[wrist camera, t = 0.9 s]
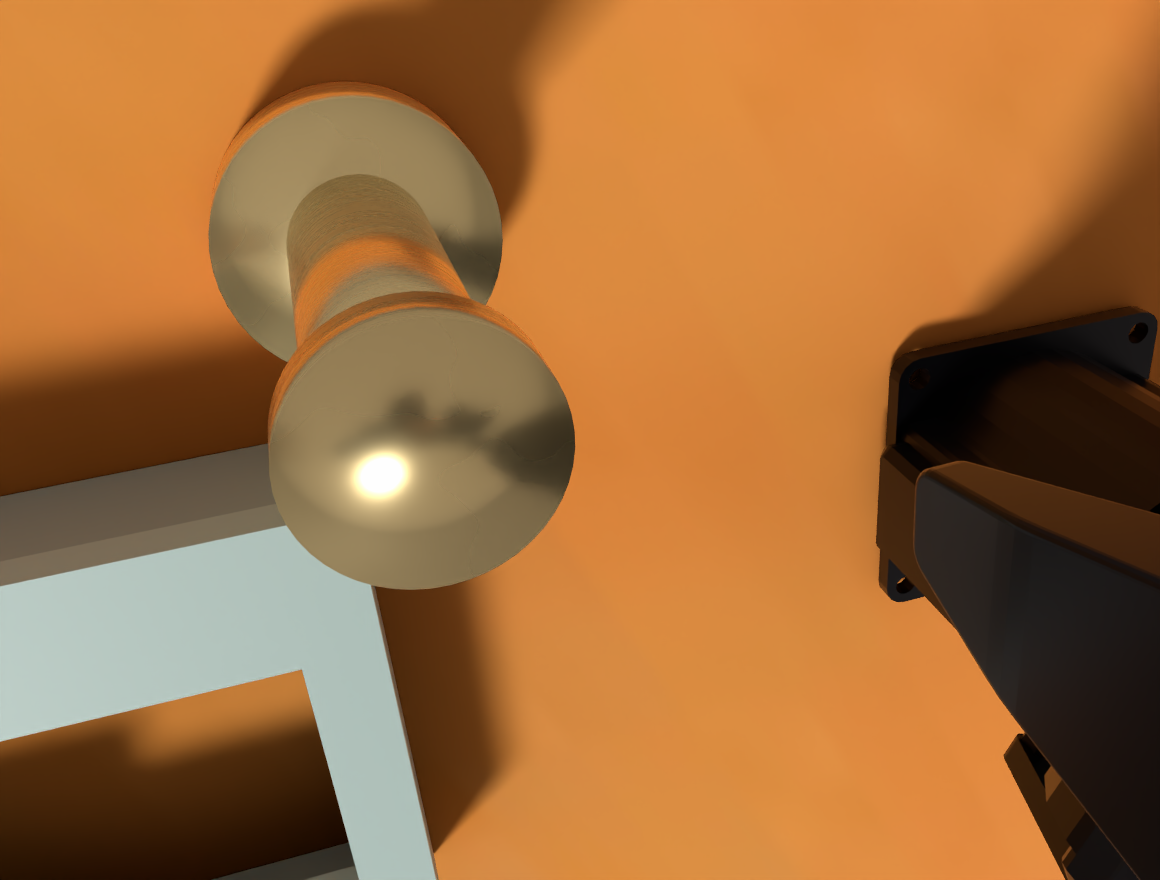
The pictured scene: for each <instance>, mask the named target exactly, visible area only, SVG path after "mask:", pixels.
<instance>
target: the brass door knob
mask: <svg viewBox="0 0 1160 880" xmlns="http://www.w3.org/2000/svg"><path fill="white" fill-rule="evenodd" d="M502 242H503V240H502V223H501V218H500V213H499V208H498V204H497V201H496V198H495V195H494V192H493V189H492V187H491V184H490V182H489V180H488V178H487V176H486V174H485V172H484V171H483V169H482V168H481V166H480V165H479V163H478V162H477V160H476V159H475V157H474V156H473V154H472V153H471V152H470V151H469V149H468V148H467V147H466V146H465V145H464V143H463V142H462V141H461V140H460V139H459V137H458V136H457V135H456V134H455V133H454V132H453V130H452V129H451V128H450V127H449V126H448V125H447V124H446V122H444V121H443V120H442V119H441V118H440V117H439V116H438V115H436V114H435V113H434V112H433V111H432V110H430V109H429V108H427V107H426V106H424V105H423V104H421V103H420V102H418V101H417V100H415V99H413V98H411V97H409V96H407V95H405V94H403V93H401V92H398V91H395V90H392V89H389V88H387V87H384V86H380V85H375V84H370V83H365V82H350V81H340V82H326V83H321V84H316V85H311V86H307V87H304V88H301V89H299V90H296V91H293V92H290V93H288V94H286V95H284V96H282V97H280V98H279V99H277V100H275V101H273V102H272V103H270V104H269V105H267V106H266V107H265V108H263V109H262V110H260V111H259V112H258V113H257V114H256V115H255V116H253V117H252V118H251V119H250V120H249V121H248V122H247V123H246V124H245V125H244V126H243V128H242V129H241V130H240V131H239V133H238V134H237V135H236V137H235V138H234V139H233V141H232V142H231V144H230V146H229V148H228V149H227V151H226V153H225V155H224V157H223V159H222V162H221V164H220V167H219V169H218V172H217V176H216V180H215V184H214V188H213V196H212V205H211V214H210V224H209V252H210V258H211V263H212V268H213V273H214V275H215V278H216V281H217V284H218V287H219V290H220V292H221V294H222V296H223V298H224V300H225V302H226V304H227V306H228V308H229V309H230V310H231V312H232V313H233V315H234V316H235V318H236V319H237V321H238V322H239V323H240V324H241V326H242V327H243V328H244V329H245V330H246V331H247V332H248V333H249V335H250V336H251V337H253V338H254V339H255V340H256V341H257V342H258V343H259V344H261V345H262V346H263V347H264V348H265V349H267V350H268V351H270V352H271V353H273V354H274V355H276V356H277V357H279V358H280V359H282V360H284V361H286V362H288V363H287V364H286V366H285V368H284V369H283V371H282V373H281V375H280V377H279V380H278V382H277V384H276V386H275V389H274V393H273V396H272V400H271V403H270V409H269V417H268V450H269V476H270V482H271V487H272V493H273V496H274V499H275V502H276V505H277V508H278V511H279V512H280V514H281V516H282V518H283V520H284V522H285V524H286V526H287V527H288V529H289V530H290V531H291V533H292V534H293V535H294V537H295V538H296V540H297V541H298V542H299V543H300V544H301V545H302V546H303V547H304V548H305V549H306V550H307V551H308V552H309V553H310V554H311V555H312V556H314V557H315V558H316V559H318V560H319V561H320V562H322V563H323V564H324V565H326V566H327V567H329V568H331V569H333V570H334V571H336V572H338V573H340V574H342V575H344V576H347V577H349V578H351V579H354V580H356V581H359V582H363V583H366V584H370V585H373V586H378V587H384V588H391V589H406V590H417V589H432V588H437V587H443V586H449V585H453V584H456V583H460V582H463V581H467V580H469V579H472V578H474V577H477V576H479V575H482V574H484V573H486V572H488V571H490V570H492V569H494V568H496V567H498V566H499V565H501V564H503V563H504V562H506V561H507V560H509V559H510V558H512V557H513V556H515V555H516V554H517V553H519V552H520V551H521V550H522V549H523V548H524V547H525V546H527V545H528V544H529V543H530V542H531V541H532V540H533V539H534V538H535V537H536V536H537V535H538V534H539V533H540V531H541V530H542V529H543V528H544V527H545V525H546V524H547V523H548V521H549V520H550V518H551V517H552V516H553V514H554V513H555V511H556V509H557V507H558V505H559V504H560V502H561V500H562V498H563V496H564V493H565V491H566V488H567V486H568V483H569V480H570V476H571V472H572V468H573V462H574V453H575V432H574V426H573V420H572V414H571V411H570V408H569V405H568V402H567V399H566V397H565V395H564V393H563V391H562V389H561V387H560V385H559V383H558V381H557V380H556V378H555V376H554V375H553V373H552V372H551V370H550V368H549V367H548V365H547V364H546V362H545V360H544V359H543V357H542V355H541V354H540V352H539V351H538V350H537V348H536V347H535V345H534V344H533V343H532V341H531V340H530V339H529V338H528V337H527V335H526V334H525V333H524V332H523V331H522V330H521V329H520V328H519V327H518V326H517V325H515V324H514V323H513V322H512V321H510V320H509V319H508V318H506V317H505V316H504V315H502V314H500V313H499V312H497V311H495V310H494V309H492V308H490V307H489V306H486V303H487V301H488V299H489V297H490V295H491V293H492V291H493V288H494V285H495V282H496V279H497V277H498V272H499V267H500V262H501V256H502Z"/></svg>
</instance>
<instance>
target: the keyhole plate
mask: <svg viewBox="0 0 1160 880" xmlns="http://www.w3.org/2000/svg"><path fill="white" fill-rule="evenodd" d="M301 669H302V671H303V675H304V679H305V682H306V686H307V690H308V693H309V697H310V701H311V704H312V708H313V712H314V715H315V719H316V723H317V727H318V730H319V734H320V738H321V741H322V745H323V749H324V752H325V756H326V760H327V763H328V767H329V771H330V774H331V778H332V782H333V785H334V789H335V793H336V796H337V800H338V804H339V808H340V811H341V815H342V819H343V822H344V826H345V830H346V833H347V837H348V841H349V843H345V844H341V845H338V846H334V847H330V848H327V849H323V850H319V851H316V852H312V853H308V854H305V855H301V856H297V857H293V858H290V859H286V860H282V861H279V862H275V863H271V864H268V865H264V866H260V867H257V868H253V869H249V870H246V871H242V872H238V873H235V874H231V875H227V876H224V877H220V878H216V879H213V880H439V879H438V874H437V869H436V863H435V858H434V853H433V849H432V844H431V840H430V835H429V831H428V826H427V821H426V817H425V812H424V808H423V803H422V799H421V794H420V790H419V785H418V781H417V776H416V771H415V767H414V762H413V758H412V753H411V749H410V744H409V740H408V735H407V731H406V726H405V721H404V717H403V712H402V708H401V703H400V699H399V694H398V690H397V685H396V680H395V676H394V671H393V667H392V662H391V658H390V653H389V649H388V644H387V640H386V635H385V630H384V626H383V621H382V617H381V612H380V608H379V603H378V599H377V594H376V590H375V586H373V585H370V584H366V583H363V582H359V581H356V580H354V579H351V578H349V577H347V576H344V575H342V574H340V573H338V572H336V571H334V570H333V569H331V568H329V567H327V566H326V565H324V564H323V563H322V562H320V561H319V560H318V559H316V558H315V557H314V556H312V555H311V554H310V553H309V552H308V551H307V550H306V549H305V548H304V547H303V546H302V545H301V544H300V543H299V542H298V541H297V540H296V538H295V537H294V535H293V534H292V533H291V531H290V530H289V529H288V527H287V526H286V524H285V522H284V520H283V518H282V516H281V514H280V512H279V511H278V508H277V505H276V502H275V499H274V496H273V493H272V487H271V482H270V476H269V450H268V444H263V445H258V446H252V447H247V448H242V449H237V450H232V451H227V452H222V453H217V454H212V455H207V456H202V457H197V458H192V459H187V460H182V461H177V462H172V463H167V464H162V465H157V466H152V467H147V468H142V469H137V470H132V471H127V472H122V473H117V474H111V475H106V476H101V477H96V478H91V479H86V480H81V481H76V482H71V483H66V484H61V485H56V486H51V487H46V488H41V489H36V490H31V491H26V492H21V493H16V494H11V495H6V496H1V497H0V741H5V740H9V739H13V738H17V737H21V736H25V735H30V734H34V733H38V732H42V731H46V730H51V729H55V728H59V727H63V726H67V725H71V724H76V723H80V722H84V721H88V720H92V719H97V718H101V717H105V716H109V715H113V714H117V713H122V712H126V711H130V710H134V709H138V708H143V707H147V706H151V705H155V704H159V703H163V702H168V701H172V700H176V699H180V698H184V697H189V696H193V695H197V694H201V693H205V692H209V691H214V690H218V689H222V688H226V687H230V686H235V685H239V684H243V683H247V682H251V681H255V680H260V679H264V678H268V677H272V676H276V675H281V674H285V673H289V672H293V671H297V670H301Z"/></svg>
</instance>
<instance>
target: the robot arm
mask: <svg viewBox="0 0 1160 880" xmlns="http://www.w3.org/2000/svg"><path fill="white" fill-rule="evenodd" d="M1134 325H1136V326H1135V328H1134V330H1133V332H1132V333H1131V334H1130V335H1129V333H1130V330H1131V329H1132V328H1133V327H1134ZM1156 334H1157V320H1156V318H1155V316H1154V315H1152V314H1151V313H1149V312H1147V311H1145V310H1143V309H1140V308H1138V307H1125V308H1120V309H1115V310H1110V311H1105V312H1100V313H1096V314H1091V315H1086V316H1081V317H1076V318H1071V319H1066V320H1062V321H1057V322H1052V323H1047V324H1042V325H1037V326H1032V327H1027V328H1023V329H1018V330H1013V331H1008V332H1003V333H998V334H993V335H989V336H984V337H979V338H974V339H969V340H964V341H959V342H954V343H950V344H945V345H940V346H935V347H930V348H925V349H920V350H916V351H911V352H909V353H906V354H904V355H902V356H901V357H900V358H899V359H898V360H896V362H895V363H894V365H893V367H892V368H891V372H890V377H889V396H888V414H887V433H886V447H885V449H884V451H883V453H882V455H881V458H880V476H879V495H878V515H877V535H876V544H877V546H878V547H879V548H880V565H879V585H880V587H881V588H882V590H883V591H884V592H885V593H886V594H887V595H888V596H889V597H890V599H891V600H893V601H896V602H904V601H908V600H912V599H916V598H920V597H924V596H925V597H926V598H927V599H928V600H929V601H930V602H931V603H932V604H933V605H934V606H935V608H936V609H937V610H938V611H939V612H940V613H941V614H942V615H943V616H944V617H945V618H946V619H947V620H948V621H949V622H950V623H951V624H952V625H953V627H954V628H955V629H956V630H957V631H958V633H959V635H960V636H961V638H962V639H963V641H964V643H965V644H966V646H967V648H968V649H969V651H970V653H971V654H972V656H973V657H974V659H975V661H976V662H977V664H978V666H979V667H980V669H981V671H982V672H983V674H984V675H985V677H986V679H987V680H988V682H989V683H990V685H991V686H992V688H993V689H994V691H995V692H996V694H997V695H998V697H999V698H1000V700H1001V701H1002V702H1003V704H1004V705H1005V706H1006V708H1007V709H1008V710H1009V712H1010V713H1011V715H1012V716H1013V717H1014V719H1015V720H1016V721H1017V722H1018V724H1019V725H1020V726H1021V728H1022V729H1023V730H1024V732H1025V733H1024V734H1017V736H1016V737H1015V739H1014V740H1013V742H1012V743H1011V745H1010V746H1009V748H1008V749H1007V751H1006V752H1005V754H1004V759H1005V761H1006V763H1007V765H1008V767H1009V769H1010V771H1011V773H1012V775H1013V777H1014V779H1015V781H1016V783H1017V785H1018V787H1019V789H1020V791H1021V793H1022V795H1023V797H1024V799H1025V801H1026V803H1027V804H1028V806H1029V808H1030V810H1031V812H1032V814H1033V816H1034V818H1035V820H1036V822H1037V824H1038V826H1039V828H1040V830H1041V832H1042V834H1043V836H1044V838H1045V840H1046V842H1047V844H1048V846H1049V848H1050V850H1051V852H1052V854H1053V856H1054V858H1055V860H1056V862H1057V864H1058V866H1059V868H1060V870H1061V872H1062V874H1063V876H1064V878H1065V880H1160V386H1159V385H1157V384H1155V383H1153V382H1152V381H1150V380H1148V378H1149V373H1150V367H1151V362H1152V356H1153V350H1154V345H1155V339H1156ZM918 369H921V371H920V374H919V376H918V377H917V378H916V379H915V380H914V381H912V382H910V383H909V380H910V377H911V375H912V374H913V373H914V372H915V371H916V370H918ZM905 576H906V577H905ZM903 577H905V579H904V580H903V581H902V582H901V583H898V582H899V580H900V579H901V578H903ZM897 583H898V584H897Z"/></svg>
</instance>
